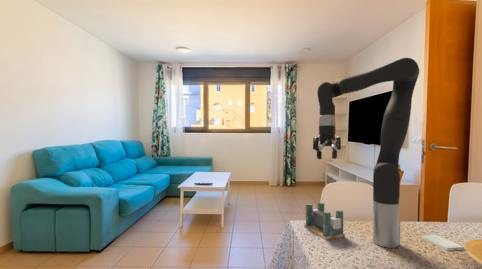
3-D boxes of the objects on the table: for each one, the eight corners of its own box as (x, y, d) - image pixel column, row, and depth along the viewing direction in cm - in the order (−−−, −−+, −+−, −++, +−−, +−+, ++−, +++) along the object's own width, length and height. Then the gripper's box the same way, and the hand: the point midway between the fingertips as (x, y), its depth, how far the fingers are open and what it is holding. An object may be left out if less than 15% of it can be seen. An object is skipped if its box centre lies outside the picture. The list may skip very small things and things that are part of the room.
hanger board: (321, 224, 126) (321, 202, 126) (344, 236, 111) (344, 211, 111) (304, 226, 123) (304, 203, 123) (325, 239, 108) (326, 213, 108)
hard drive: (419, 235, 110) (446, 247, 98) (436, 234, 112) (465, 246, 99) (419, 239, 110) (446, 252, 98) (436, 238, 112) (465, 250, 99)
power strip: (314, 219, 127) (315, 206, 126) (341, 233, 109) (341, 218, 109) (308, 220, 125) (308, 207, 125) (333, 234, 108) (333, 219, 108)
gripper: (319, 124, 115) (319, 160, 115) (344, 124, 120) (344, 159, 120) (309, 124, 122) (309, 158, 122) (334, 125, 127) (333, 157, 127)
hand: (326, 158), depth 121 cm, fingers open, 8 cm apart
